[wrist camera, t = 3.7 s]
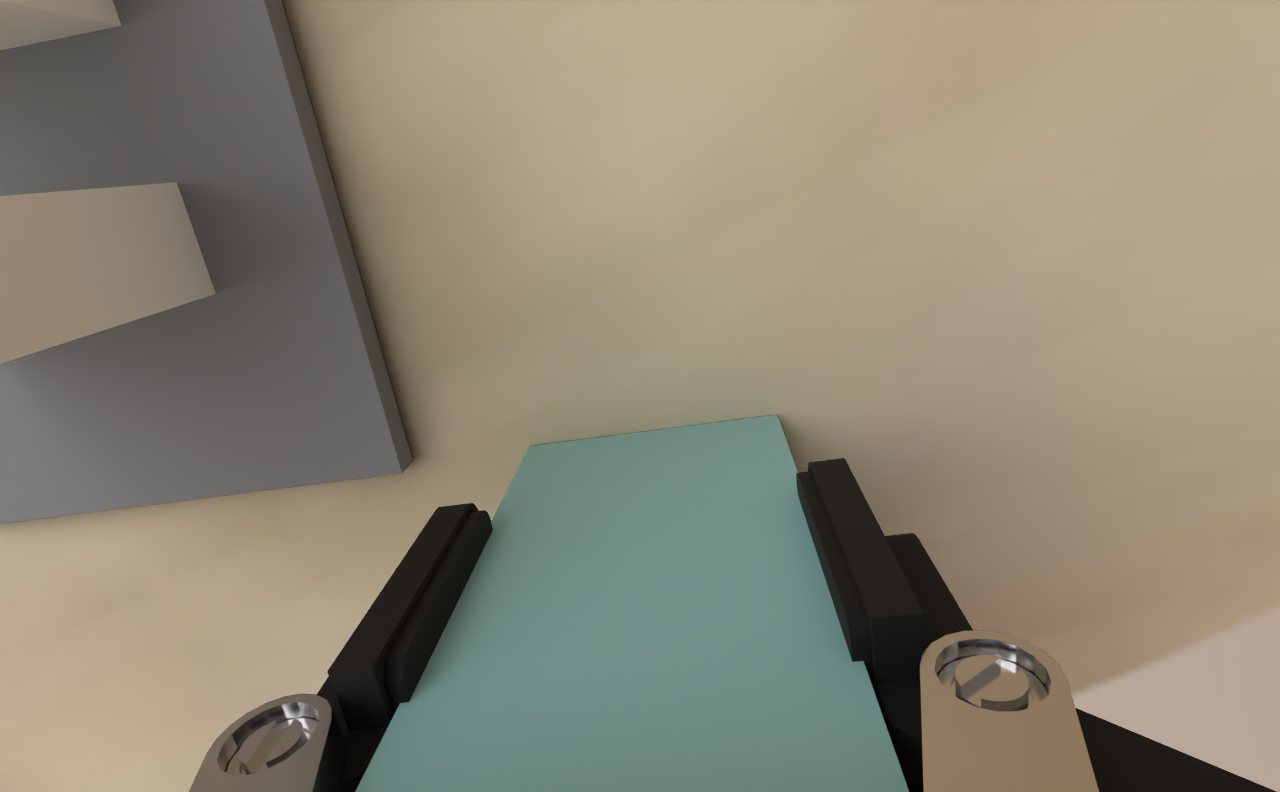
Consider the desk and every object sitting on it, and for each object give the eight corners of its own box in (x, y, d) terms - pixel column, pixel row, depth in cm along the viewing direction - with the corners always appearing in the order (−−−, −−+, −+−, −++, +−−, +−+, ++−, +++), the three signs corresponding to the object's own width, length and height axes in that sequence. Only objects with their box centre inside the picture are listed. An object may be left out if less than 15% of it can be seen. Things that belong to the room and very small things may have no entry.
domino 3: (777, 414, 14) (965, 956, 5) (787, 505, 15) (968, 1141, 5) (529, 445, 15) (254, 990, 5) (548, 532, 15) (335, 1155, 6)
